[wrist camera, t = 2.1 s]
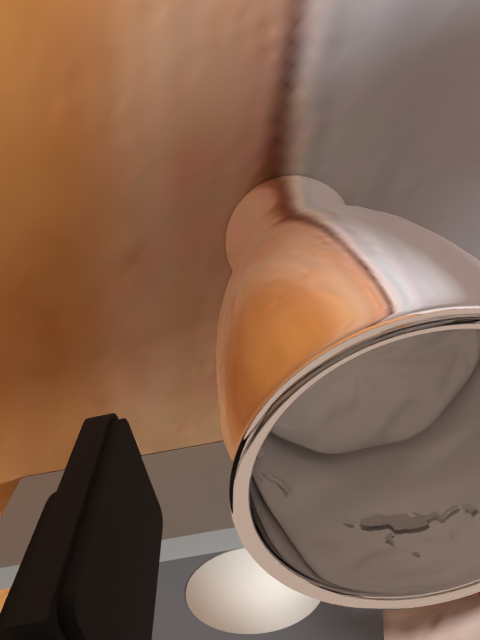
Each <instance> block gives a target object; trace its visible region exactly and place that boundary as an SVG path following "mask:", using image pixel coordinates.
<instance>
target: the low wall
mask: <svg viewBox="0 0 480 640" xmlns="http://www.w3.org/2000/svg"><path fill="white" fill-rule="evenodd" d="M141 457H142V460H143V462H144V465H145V468H146V470H147V473H148V476H149V478H150V481H151V484H152V486H153V489H154V491H155V494H156V497H157V499H158V502H159V505H160V507H161V511H162V516H163V531H162V541H161V551H160V561H159V562H163V561H168V560H174V559H180V558H186V557H192V556H197V555H203V554H209V553H215V552H221V551H227V550H232V549H238V548H244V545H243V544H242V542H241V540H240V538H239V536H238V534H237V531H236V529H235V526H234V523H233V520H232V515H231V511H230V504H229V477H228V469H227V462H226V455H225V449H224V443H223V441H221V442H216V443H210V444H204V445H199V446H193V447H188V448H182V449H177V450H171V451H166V452H160V453H155V454H149V455H144V456H141ZM64 471H65V470H61V471H56V472H50V473H44V474H39V475H33V476H28V477H22V478H21V479H20V481H19V483H18V485H17V487H16V489H15V490H14V492H13V494H12V496H11V498H10V500H9V502H8V504H7V505H6V507H5V509H4V511H3V513H2V515H1V517H0V589H5V588H11V586H12V584H13V581H14V579H15V576H16V574H17V571H18V569H19V567H20V564H21V562H22V559H23V557H24V554H25V552H26V550H27V547H28V545H29V542H30V540H31V537H32V535H33V533H34V530H35V528H36V525H37V523H38V520H39V518H40V515H41V513H42V511H43V508H44V506H45V503H46V502H47V500H48V498H49V496H50V495H51V494H53V493H54V492H56V491H57V489H58V486H59V484H60V481H61V478H62V476H63V473H64Z"/></svg>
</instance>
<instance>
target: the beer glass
mask: <svg viewBox="0 0 480 640" xmlns="http://www.w3.org/2000/svg"><path fill="white" fill-rule="evenodd" d="M225 246H226V254H227V258H228V262H229V264H230V267H231V269H232V271H233V272H232V275H231V277H230V280H229V282H228V285H227V288H226V292H225V296H224V299H223V303H222V307H221V311H220V315H219V321H218V331H217V346H216V376H217V394H218V405H219V413H220V421H221V429H222V436H223V443H224V449H225V455H226V462H227V469H228V477H229V504H230V511H231V515H232V520H233V523H234V526H235V529H236V531H237V534H238V536H239V538H240V540H241V542H242V544H243V545H244V547H245V548H246V550H247V551H248V553H249V554H250V555H251V557H252V558H253V559H254V560H255V561H256V562H257V563H258V565H259V566H260V567H261V568H262V569H264V570H265V571H266V572H267V573H268V574H269V575H271V576H272V577H273V578H275V579H276V580H277V581H279V582H280V583H282V584H284V585H285V586H287V587H289V588H291V589H292V590H294V591H297V592H299V593H301V594H303V595H306V596H308V597H311V598H314V599H317V600H320V601H323V602H327V603H331V604H336V605H341V606H346V607H353V608H363V609H403V608H414V607H421V606H428V605H434V604H439V603H443V602H448V601H452V600H456V599H459V598H463V597H466V596H469V595H472V594H475V593H478V592H480V260H478V259H477V258H475V257H474V256H472V255H470V254H469V253H467V252H466V251H464V250H463V249H461V248H460V247H458V246H456V245H455V244H453V243H452V242H450V241H449V240H447V239H445V238H444V237H442V236H440V235H438V234H436V233H434V232H432V231H430V230H428V229H425V228H423V227H421V226H419V225H417V224H415V223H413V222H411V221H409V220H406V219H404V218H401V217H399V216H396V215H392V214H388V213H384V212H380V211H376V210H372V209H368V208H364V207H358V206H349V205H346V204H345V202H344V201H343V199H342V198H341V197H340V196H339V194H338V193H337V192H336V191H334V190H333V189H332V188H331V187H329V186H328V185H326V184H325V183H323V182H321V181H318V180H316V179H313V178H309V177H305V176H298V175H288V176H281V177H277V178H273V179H270V180H268V181H266V182H264V183H262V184H260V185H258V186H257V187H255V188H254V189H252V190H251V191H250V192H249V193H248V194H247V195H245V197H244V198H243V199H242V200H241V201H240V202H239V204H238V205H237V206H236V208H235V210H234V211H233V213H232V215H231V218H230V220H229V223H228V227H227V231H226V240H225Z"/></svg>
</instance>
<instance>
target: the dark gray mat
mask: <svg viewBox="0 0 480 640" xmlns="http://www.w3.org/2000/svg"><path fill="white" fill-rule="evenodd" d="M152 640H384V634H383V620H382V609H363V608H353V607H346V606H341V605H336V604H331V603H327V602H323V601H320V600H317V599H314V598H311V597H308V596H306V595H303V594H301V593H299V592H297V591H294V590H292V589H291V588H289V587H287V586H285V585H284V584H282V583H280V582H279V581H277V580H276V579H275V578H273V577H272V576H271V575H269V574H268V573H267V572H266V571H265V570H264V569H262V568H261V567H260V566H259V565H258V563H257V562H256V561H255V560H254V559H253V558H252V557H251V555H250V554H249V553H248V551H247V550H246V548H245V547H244V548H238V549H232V550H227V551H221V552H215V553H209V554H203V555H197V556H192V557H186V558H180V559H174V560H168V561H163V562H159V571H158V581H157V591H156V601H155V611H154V621H153V631H152Z"/></svg>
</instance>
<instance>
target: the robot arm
mask: <svg viewBox="0 0 480 640" xmlns="http://www.w3.org/2000/svg"><path fill="white" fill-rule="evenodd" d="M162 531H163V516H162V511H161V507H160V505H159V502H158V499H157V497H156V494H155V491H154V489H153V486H152V484H151V481H150V478H149V476H148V473H147V470H146V468H145V465H144V462H143V460H142V457H141V455H140V452H139V449H138V447H137V444H136V441H135V439H134V436H133V434H132V431H131V428H130V426H129V423H128V421H127V420H126V419H125V418H123V419H118V417H117V415H116V414H114V413H112V414H107V415H102V416H97V417H92V418H88V419H86V420H85V421H84V423H83V425H82V428H81V430H80V433H79V435H78V438H77V440H76V443H75V446H74V448H73V451H72V453H71V456H70V458H69V461H68V463H67V466H66V468H65V471H64V473H63V476H62V478H61V481H60V484H59V486H58V489H57V491H56V492H54V493H53V494H51V495H50V496H49V498H48V500H47V502H46V503H45V506H44V508H43V511H42V513H41V515H40V518H39V520H38V523H37V525H36V528H35V530H34V533H33V535H32V537H31V540H30V542H29V545H28V547H27V550H26V552H25V554H24V557H23V559H22V562H21V564H20V567H19V569H18V571H17V574H16V576H15V579H14V581H13V584H12V586H11V589H10V591H9V593H8V596H7V598H6V601H5V603H4V606H3V608H2V610H1V613H0V640H152V631H153V621H154V611H155V601H156V591H157V581H158V571H159V561H160V551H161V541H162Z"/></svg>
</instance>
